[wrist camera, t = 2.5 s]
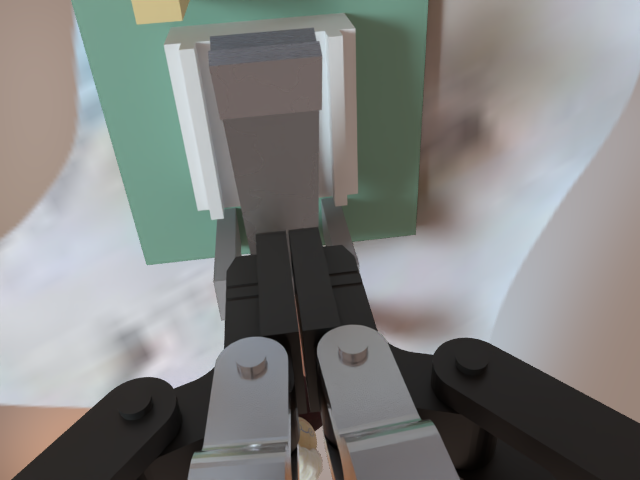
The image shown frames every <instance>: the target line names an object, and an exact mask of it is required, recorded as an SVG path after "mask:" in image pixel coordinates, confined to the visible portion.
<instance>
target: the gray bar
mask: <svg viewBox="0 0 640 480" xmlns="http://www.w3.org/2000/svg"><path fill="white" fill-rule="evenodd" d="M208 59H209V69H210V74H211V79H212V83H213V88H214V93H215V98H216V102H217V107H218V112H219V116H220V120H223V124H224V129H225V134H226V139H227V144H228V148H229V153H230V158H231V163H232V168H233V172H234V177H235V182H236V187H237V192H238V196H239V201H240V206H241V211H242V215H243V220H244V225H245V230H246V235H247V239H248V244H249V249H250V254H251V255H257V253H256V234H257V233H266V232H275V231H284V230H286V237H287V245H288V252H289V260H290V267H291V275H292V282H293V274H292V264H291V254H290V245H289V234H288V230H292V229H301V228H310V227H318V228H319V110H322V52H321V47H320V41H316V36H315V31H314V28H303V29H291V30H279V31H267V32H256V33H244V34H232V35H220V36H210V51H208ZM293 289H294V284H293Z"/></svg>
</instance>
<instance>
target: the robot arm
mask: <svg viewBox="0 0 640 480" xmlns="http://www.w3.org/2000/svg"><path fill="white" fill-rule="evenodd" d="M288 234H289V245H290V254H291V264H292V274H293V282H292V275H291V267H290V260H289V252H288V245H287V237H286V230H284V231H275V232H266V233H257V234H256V253H257V255H248V256H239V257H235V259H234V260H233V262H232V263H231V265H230V266H229V268H228V269H227V271H226V304H225V340H224V350H223V351H222V352H221V353H220V355H219V356H218V358H217V360H216V363H215V367H214V368H213V369H212V370H211V371H210V372H208V373H207V374H206V375H204V376H202V377H201V378H199V379H197V380H195V381H192V382H190V383H187V384H185V385H182V386H180V387H177V388H175V389H173V387H172V386H171V385H170V384H169V383H167V382H166V381H164V380H162V379H159V378H154V377H143V378H137V379H133V380H130V381H127V382H125V383H123V384H121V385H119V386H118V387H116V388H114V389H113V390H112V391H111V392H109V393H108V394H107V395H106V396H105V397H104V398H103V399H102V400H100V401H99V402H98V403H97V404H96V405H95V406H94V407H92V408H91V409H90V410H89V411H88V412H87V413H86V414H85V415H84V416H82V417H81V418H80V419H79V420H78V421H77V422H76V423H75V424H73V425H72V426H71V427H70V428H69V429H68V430H67V431H65V432H64V433H63V434H62V435H61V436H60V437H59V438H58V439H57V440H55V441H54V442H53V443H52V444H51V445H50V446H49V447H47V449H45V450H44V451H43V452H42V453H41V454H40V455H39V456H37V457H36V458H35V459H34V460H33V461H32V462H31V463H30V464H28V465H27V466H26V467H25V468H24V469H23V470H22V471H21V472H20V473H18V474H17V475H16V476H15V477H14V478H13V479H12V480H300V479H299V446H298V442H299V439H300V426H299V417H298V414H305V413H307V406H306V396H305V386H304V375H303V365H302V355H301V346H302V354H303V361H304V369H305V376H306V384H307V391H308V398H309V406H310V413H311V412H319V411H320V412H321V419H322V425H323V436H324V446H325V450H326V454H327V459H328V463H329V467H330V471H331V475H332V479H333V480H640V423H638V422H636V421H634V420H632V419H630V418H629V417H627V416H625V415H623V414H621V413H619V412H617V411H615V410H613V409H612V408H610V407H608V406H606V405H604V404H602V403H600V402H598V401H597V400H595V399H593V398H591V397H589V396H587V395H585V394H583V393H582V392H580V391H578V390H576V389H574V388H572V387H570V386H568V385H567V384H565V383H563V382H561V381H559V380H557V379H555V378H554V377H552V376H550V375H548V374H546V373H544V372H542V371H540V370H539V369H537V368H535V367H533V366H531V365H529V364H527V363H525V362H524V361H522V360H520V359H518V358H516V357H514V356H512V355H510V354H509V353H506V352H505V351H502V350H501V349H499V348H497V347H495V346H493V345H492V344H490V343H487V342H485V341H482V340H479V339H474V338H457V339H453V340H449V341H447V342H445V343H443V344H442V345H441V346H439V347H438V349H437V350H436V351H435V353H434V355H430V354H422V353H414V352H408V351H405V350H401V349H399V348H397V347H394V346H393V345H391V344H389V343H388V342H387V341H386V339H385V338H384V337H383V336H382V335H381V334H380V333H379V332H378V330H377V328H376V325H375V322H374V318H373V315H372V312H371V309H370V305H369V302H368V299H367V295H366V292H365V289H364V286H363V283H362V279H361V276H360V273H359V269H358V266H357V263H356V259H355V256H354V255H353V254H352V253H351V252H349V251H348V250H347V249H346V248H345V247H344V246H343V245H335V246H326V247H323V246H322V241H321V237H320V233H319V228H318V227H310V228H301V229H292V230H288ZM293 284H294V289H293ZM294 293H295V297H294ZM295 301H296V304H295ZM296 309H297V312H296ZM297 317H298V319H297ZM298 324H299V327H298ZM299 332H300V335H299ZM300 339H301V345H300Z"/></svg>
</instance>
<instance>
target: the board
mask: <svg viewBox="0 0 640 480" xmlns="http://www.w3.org/2000/svg"><path fill="white" fill-rule="evenodd" d="M71 1H72V5H73V8H74V12H75V15H76V19H77V22H78V26H79V29H80V33H81V36H82V40H83V43H84V47H85V50H86V54H87V57H88V61H89V64H90V68H91V71H92V75H93V78H94V82H95V85H96V89H97V92H98V96H99V99H100V103H101V106H102V110H103V114H104V117H105V121H106V124H107V128H108V131H109V135H110V138H111V142H112V145H113V149H114V152H115V156H116V159H117V163H118V166H119V170H120V173H121V177H122V180H123V184H124V187H125V191H126V194H127V198H128V201H129V205H130V208H131V212H132V215H133V219H134V222H135V226H136V229H137V233H138V236H139V240H140V243H141V247H142V250H143V254H144V257H145V261H146V264H147V265H153V264H162V263H171V262H179V261H188V260H197V259H206V258H215V263H214V281H213V282H214V287H215V292H216V297H217V302H218V307H219V311H220V316H221V321H222V320H225V304H226V271H227V269H228V268H229V266H230V265H231V263H232V262H233V260H234V259H235V257H239V256H241V254H250V249H249V244H248V239H247V235H246V230H245V225H244V220H243V215H242V211H241V206H240V201H239V196H238V192H237V187H236V182H235V177H234V172H233V168H232V163H231V158H230V153H229V148H228V144H227V139H226V134H225V129H224V124H223V120H220V116H219V112H218V107H217V102H216V98H215V93H214V88H213V83H212V79H211V74H210V69H209V59H208V51H210V36H220V35H232V34H244V33H256V32H267V31H279V30H291V29H303V28H314V31H315V36H316V41H320V47H321V52H322V110H319V233H320V237H321V241H322V245H326V246H335V245H343V246H344V247H345V248H346V249H347V250H348V251H349V252H351V253H352V254H353V255H354V256H355V259H356V263H357V266H358V269H359V262H358V259H357V256H356V253H355V249H354V246H353V243H352V242H355V241H364V240H373V239H382V238H390V237H399V236H408V235H416V218H417V199H418V181H419V162H420V144H421V125H422V107H423V89H424V70H425V52H426V33H427V15H428V0H71Z"/></svg>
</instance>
